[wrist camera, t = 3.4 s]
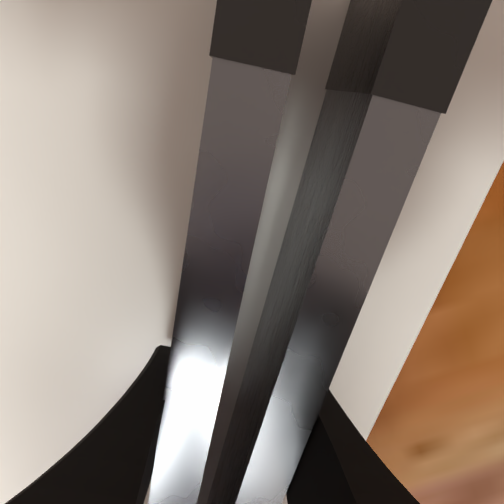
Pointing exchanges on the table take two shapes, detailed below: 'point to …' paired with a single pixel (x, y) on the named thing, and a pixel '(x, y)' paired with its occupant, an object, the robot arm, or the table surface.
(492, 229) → the table surface
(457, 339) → the table surface
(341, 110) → the tongs base
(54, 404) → the cutting board
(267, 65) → the tongs arm
